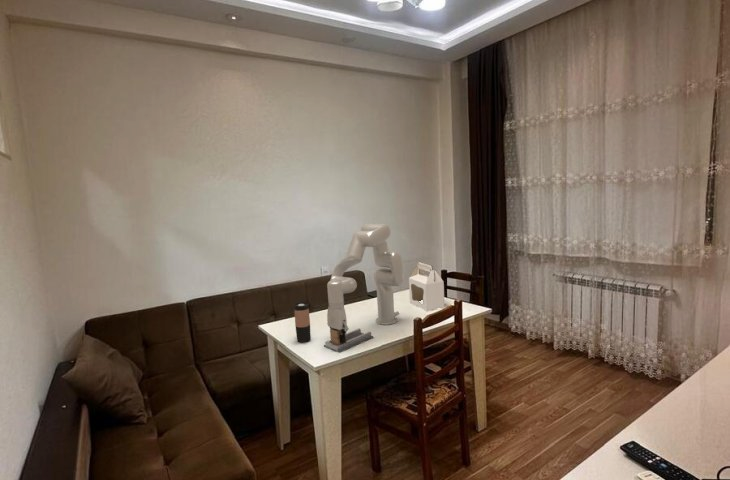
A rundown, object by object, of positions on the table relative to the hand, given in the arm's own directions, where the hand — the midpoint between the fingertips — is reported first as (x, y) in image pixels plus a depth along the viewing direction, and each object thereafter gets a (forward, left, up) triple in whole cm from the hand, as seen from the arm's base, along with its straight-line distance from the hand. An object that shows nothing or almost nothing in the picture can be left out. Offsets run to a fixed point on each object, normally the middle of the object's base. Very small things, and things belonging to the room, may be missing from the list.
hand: (338, 340), depth 195 cm
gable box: (-81, -4, -4) cm, 81 cm away
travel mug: (+6, -21, -4) cm, 22 cm away
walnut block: (0, 0, -2) cm, 2 cm away
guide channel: (-7, 0, -3) cm, 8 cm away
